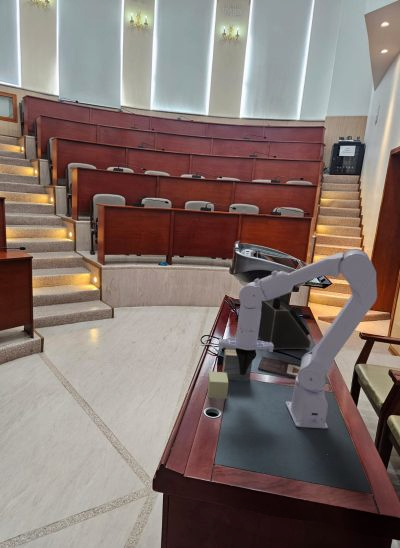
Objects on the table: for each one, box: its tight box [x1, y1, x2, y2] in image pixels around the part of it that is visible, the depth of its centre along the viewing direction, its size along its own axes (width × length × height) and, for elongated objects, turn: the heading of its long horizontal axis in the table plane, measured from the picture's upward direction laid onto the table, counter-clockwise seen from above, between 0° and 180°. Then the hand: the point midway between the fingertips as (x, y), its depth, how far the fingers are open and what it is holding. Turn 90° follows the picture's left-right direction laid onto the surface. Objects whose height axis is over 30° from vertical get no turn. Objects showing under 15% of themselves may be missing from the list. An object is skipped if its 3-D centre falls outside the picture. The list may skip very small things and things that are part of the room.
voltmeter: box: [258, 296, 312, 351], centre depth 125 cm, size 16×16×20 cm
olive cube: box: [206, 371, 229, 400], centre depth 90 cm, size 5×5×5 cm
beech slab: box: [222, 349, 253, 382], centre depth 99 cm, size 4×8×8 cm, turn 92°
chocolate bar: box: [257, 356, 301, 380], centre depth 107 cm, size 9×1×18 cm
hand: (242, 373), depth 90 cm, fingers closed
